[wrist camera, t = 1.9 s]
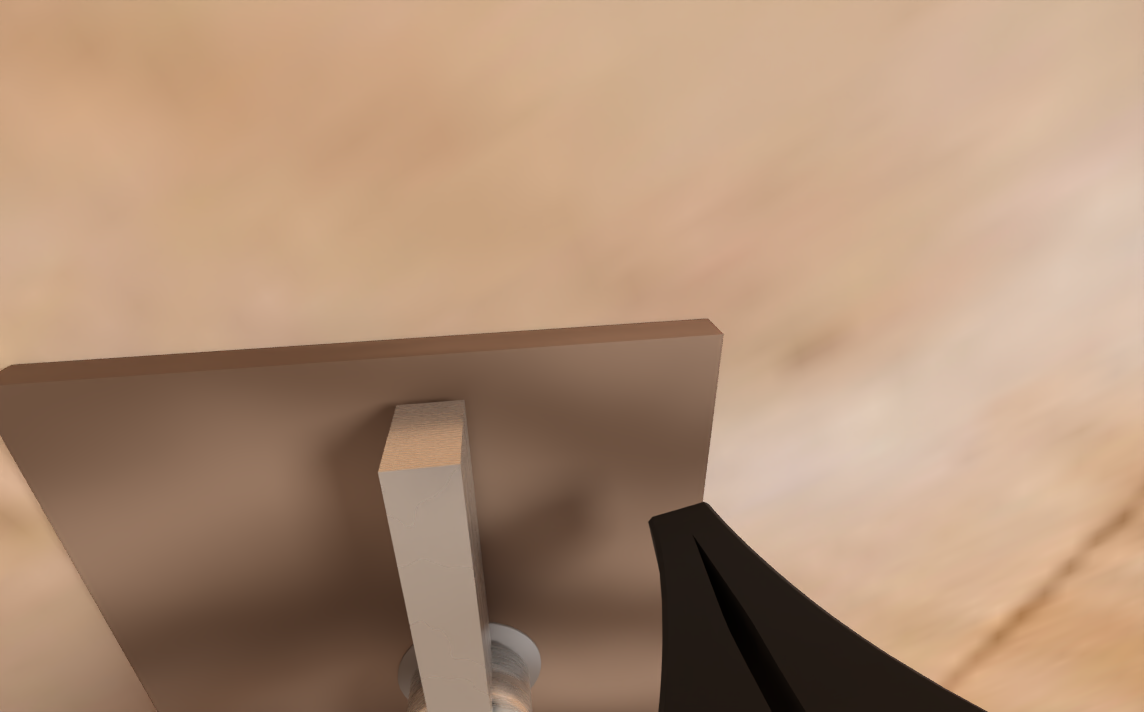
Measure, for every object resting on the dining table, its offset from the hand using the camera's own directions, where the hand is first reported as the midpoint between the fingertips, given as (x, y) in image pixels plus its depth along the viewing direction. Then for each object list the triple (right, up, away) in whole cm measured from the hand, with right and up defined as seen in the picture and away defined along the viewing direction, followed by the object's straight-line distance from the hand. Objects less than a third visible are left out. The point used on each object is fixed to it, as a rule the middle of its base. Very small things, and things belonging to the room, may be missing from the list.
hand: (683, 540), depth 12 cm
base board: (-7, -3, +4) cm, 9 cm away
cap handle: (-6, -2, +3) cm, 7 cm away
